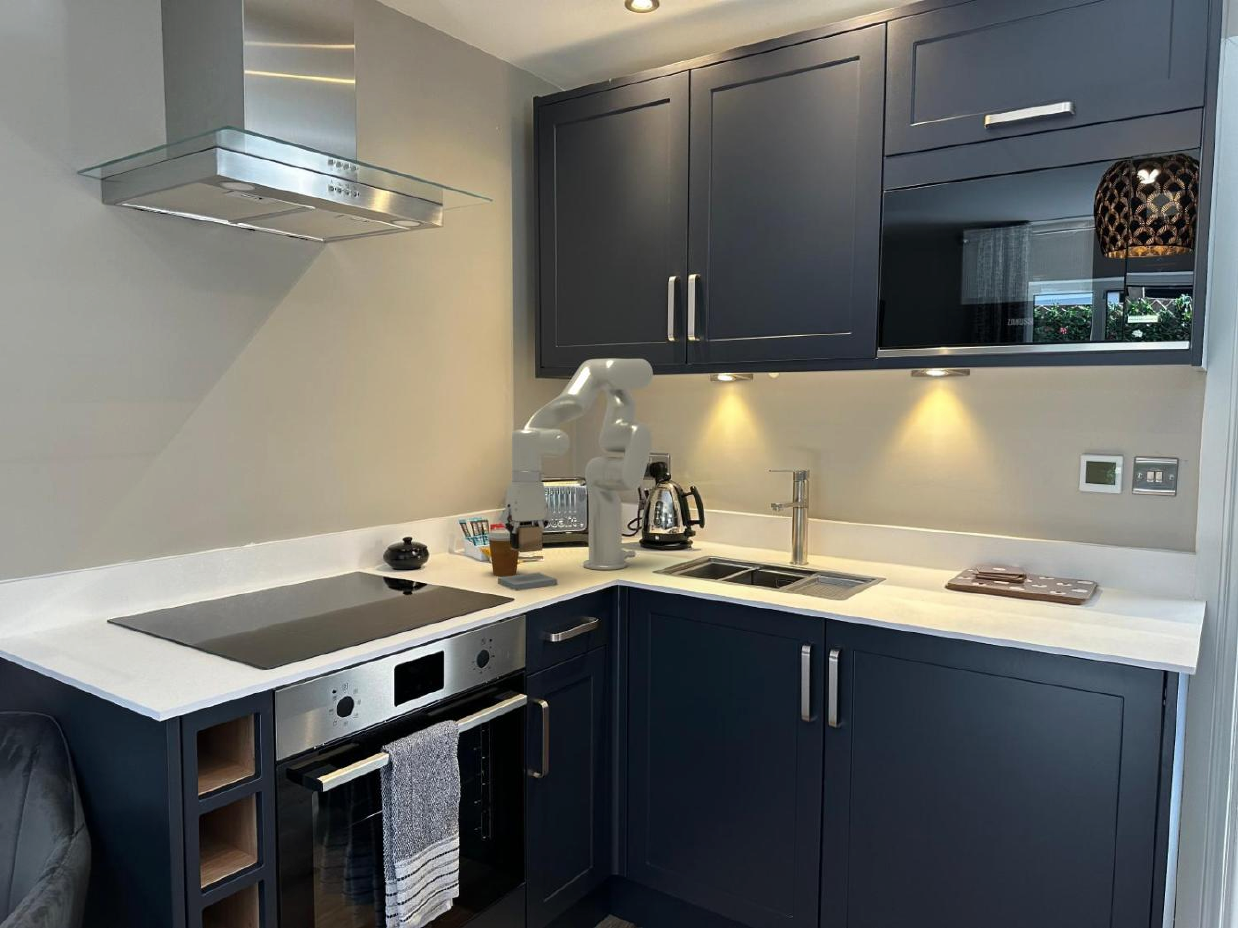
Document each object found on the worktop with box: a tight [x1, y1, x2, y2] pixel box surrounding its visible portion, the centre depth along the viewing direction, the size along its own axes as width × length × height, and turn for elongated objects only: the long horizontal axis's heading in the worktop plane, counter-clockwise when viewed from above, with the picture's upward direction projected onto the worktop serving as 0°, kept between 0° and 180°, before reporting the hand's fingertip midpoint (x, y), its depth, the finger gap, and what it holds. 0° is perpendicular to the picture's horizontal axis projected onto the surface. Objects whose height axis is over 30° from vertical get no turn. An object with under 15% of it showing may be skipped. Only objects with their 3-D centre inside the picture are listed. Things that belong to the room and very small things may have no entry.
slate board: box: [497, 572, 558, 591], centre depth 216 cm, size 12×10×2 cm
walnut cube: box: [511, 524, 543, 553], centre depth 215 cm, size 6×6×6 cm
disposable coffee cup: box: [486, 528, 520, 577], centre depth 229 cm, size 10×10×12 cm
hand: (526, 546), depth 216 cm, fingers closed on walnut cube, 6 cm apart
